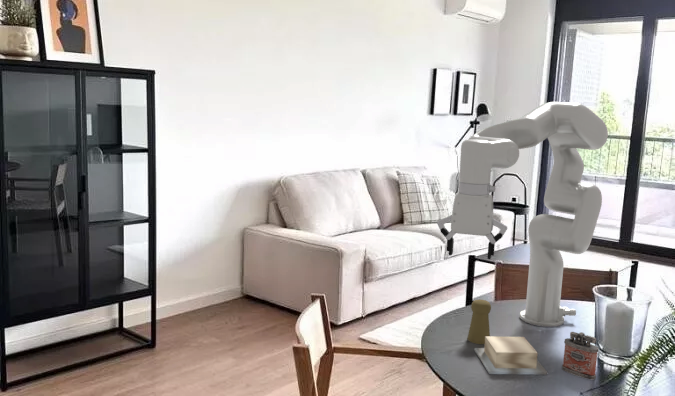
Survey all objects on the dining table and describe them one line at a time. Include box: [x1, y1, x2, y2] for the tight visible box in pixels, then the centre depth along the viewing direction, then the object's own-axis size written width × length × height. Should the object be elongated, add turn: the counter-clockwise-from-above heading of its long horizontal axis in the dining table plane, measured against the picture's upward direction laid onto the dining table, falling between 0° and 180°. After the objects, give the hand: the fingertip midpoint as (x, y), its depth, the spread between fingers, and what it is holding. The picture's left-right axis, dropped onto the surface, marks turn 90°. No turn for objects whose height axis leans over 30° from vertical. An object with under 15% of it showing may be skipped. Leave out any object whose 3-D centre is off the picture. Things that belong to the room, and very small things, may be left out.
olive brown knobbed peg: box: [466, 299, 492, 345], centre depth 170 cm, size 6×6×11 cm
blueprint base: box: [473, 335, 548, 376], centre depth 157 cm, size 14×14×5 cm
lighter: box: [561, 331, 599, 381], centre depth 151 cm, size 8×3×10 cm, turn 44°
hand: (469, 256), depth 160 cm, fingers open, 9 cm apart
